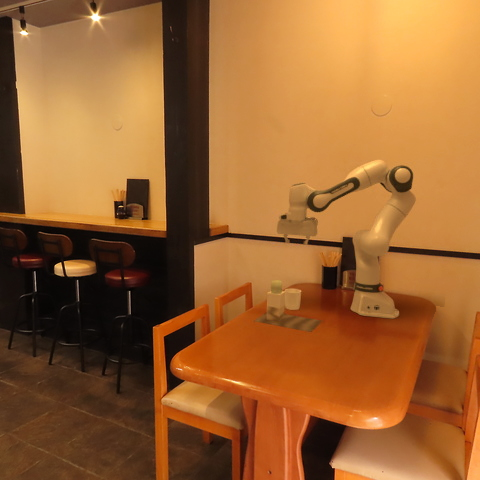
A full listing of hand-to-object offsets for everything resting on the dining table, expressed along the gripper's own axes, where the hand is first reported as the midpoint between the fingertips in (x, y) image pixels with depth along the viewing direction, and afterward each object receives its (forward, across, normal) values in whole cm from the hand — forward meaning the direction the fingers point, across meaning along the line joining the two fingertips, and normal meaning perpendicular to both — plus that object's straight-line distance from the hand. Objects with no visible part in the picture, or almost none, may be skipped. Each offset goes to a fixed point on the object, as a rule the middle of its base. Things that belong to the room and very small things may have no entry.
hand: (296, 244), depth 207 cm
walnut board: (+31, -8, +30) cm, 44 cm away
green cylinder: (+17, -2, +30) cm, 34 cm away
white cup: (+31, -3, +11) cm, 33 cm away
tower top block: (+23, -2, +30) cm, 38 cm away
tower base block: (+29, -2, +30) cm, 42 cm away
